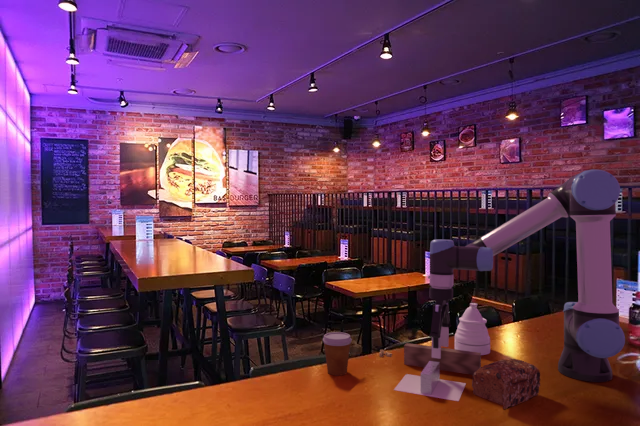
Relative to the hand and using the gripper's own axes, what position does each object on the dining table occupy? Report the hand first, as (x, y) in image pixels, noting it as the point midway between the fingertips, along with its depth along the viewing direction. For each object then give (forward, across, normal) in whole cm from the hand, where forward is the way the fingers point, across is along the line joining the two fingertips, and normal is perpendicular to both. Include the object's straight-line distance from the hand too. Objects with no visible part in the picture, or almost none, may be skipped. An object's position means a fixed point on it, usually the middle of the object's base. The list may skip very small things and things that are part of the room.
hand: (440, 351), depth 146 cm
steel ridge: (+5, +17, 0) cm, 18 cm away
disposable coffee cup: (+8, +14, -31) cm, 34 cm away
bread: (+7, +11, +21) cm, 25 cm away
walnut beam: (+7, 0, 0) cm, 7 cm away
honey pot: (+7, -30, +6) cm, 32 cm away
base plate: (+7, +17, 0) cm, 18 cm away
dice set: (+8, -9, -21) cm, 25 cm away
